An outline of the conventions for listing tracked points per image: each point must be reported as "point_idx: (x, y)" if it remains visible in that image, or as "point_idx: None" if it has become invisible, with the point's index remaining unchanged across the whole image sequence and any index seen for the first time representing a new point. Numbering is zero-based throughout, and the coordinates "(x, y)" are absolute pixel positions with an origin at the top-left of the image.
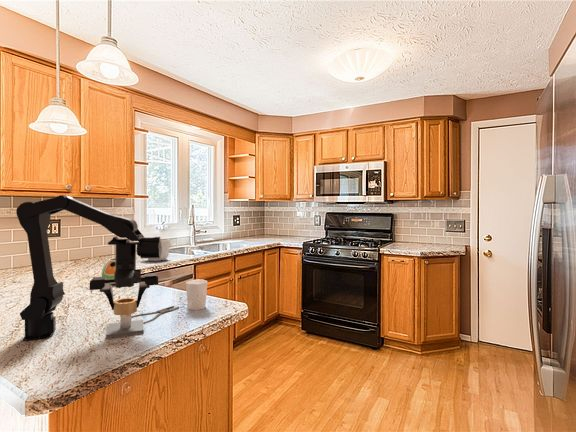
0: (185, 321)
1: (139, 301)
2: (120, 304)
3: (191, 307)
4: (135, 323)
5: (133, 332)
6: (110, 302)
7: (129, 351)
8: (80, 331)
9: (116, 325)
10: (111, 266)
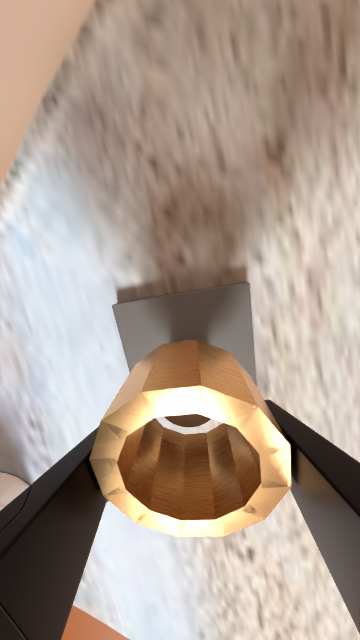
0: (3, 383)
1: (77, 448)
2: (215, 385)
3: (8, 485)
4: None
5: (148, 298)
6: (324, 446)
7: (122, 101)
8: (346, 378)
9: None
10: None
